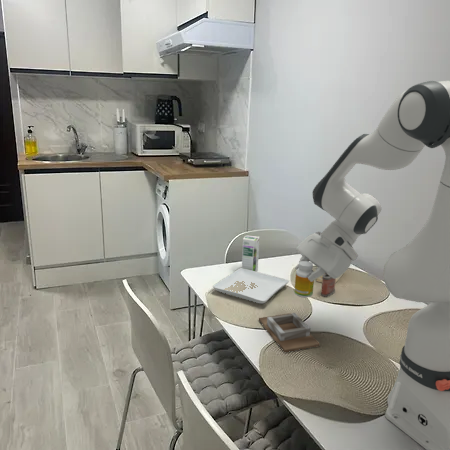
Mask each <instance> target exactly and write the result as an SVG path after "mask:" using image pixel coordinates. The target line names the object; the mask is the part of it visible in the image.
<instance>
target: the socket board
mask: <svg viewBox="0 0 450 450" xmlns="http://www.w3.org/2000/svg"><path fill="white" fill-rule="evenodd" d="M259 321H260V322H261V323H262V324H263V326H264V327H265V328H264V327H263V326H262V327H263V328H264V329H265V331H266V330H267V331H266V332H267V333H268V335H269V336H270V337H271V338H272V339H273V340H274V342H275V341H276V342H277V343H278V344H279V345H280V347H281V348H282V349H283V350H282V349H281V348H280V347H279V348H280V349H281V350H282V352H283V351H284V352H288V353H290V352H289V351H293V352H296V351H295V350H298V351H300V350H299V349H303V350H307V349H306V348H309V349H311V348H310V347H314V348H317V347H316V346H319V347H320V342H319V341H318V340H317V339H316V338H315V337H314V336H313V335H312V334H311V328H310V326H308V325H307V324H306V322H304V320H302V318H300V317H299V315H298V314H297V313H296V312H293V313H292V312H289V313H284V314H276V315H269V316H263V317H259V318H258V322H259ZM260 322H259V323H260ZM261 323H260V324H261ZM262 324H261V325H262ZM276 342H275V343H276ZM277 343H276V344H277ZM278 344H277V345H278ZM279 345H278V346H279ZM284 352H283V353H284Z"/></svg>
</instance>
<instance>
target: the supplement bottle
mask: <svg viewBox="0 0 450 450" xmlns="http://www.w3.org/2000/svg"><path fill="white" fill-rule="evenodd" d="M298 264H299V269H297V270H296V269H295V270H296V271H295V279H294V290H293V292H294V295H295V296H297V297H299V298H304V299H305V298H310V297H313V294H314V293H313V292H314V282H315V280H314V281H313V282H311V281H310V280H308V279H307V278H306V276H307V275H308V274H309V273H311V274H312V273H313V272H315V271H314V270H313V269H314V268H313V267H314V264H313V263H311V262H310V261H309V262H308V261H301V262H299V261H298Z"/></svg>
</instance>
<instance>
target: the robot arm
mask: <svg viewBox="0 0 450 450" xmlns="http://www.w3.org/2000/svg"><path fill="white" fill-rule="evenodd" d="M425 146H426V147H428V148H429V149H435V148H438V147H440V146H441V147H442V149H443V151H444V153H445V161H444V165H443V169H442V172H441V177H440V180H439V184H438V189H437V191H436V195H435V198H434V202H433V205H432V208H431V212H430V214H429V216H428V218H427V220H426V222H425V224H424V225H423V227H422V228H421V229H420V231H418V233H416V235H415V236H414V238H413V239H412V240H410V241H409V242H408V243H407V244H406V245H405V246H403V247H402V248H400V249H398V250H395V252H393V253H391V254H390V255H389V256H388V258H387V260H386V262H385V263H384V266H383V272H382V273H383V274H382V277H383V282H384V284H385V286H386V289H387V290H388V292H389V293H390V294H391V295H392V296H393V297H394V298H396V299H399V300H405V301H410V302H415V303H427V305H426V306H424V307H423V308H420V309H419V310H417V311H416V312H414V313H413V314H412V316H411V317H410V319H409V320H408V323H407V324H408V325H407V332H406V338H405V343H404V345H403V346H402V349H401V353H400V356H399V358H400V359H399V371H398V374H397V377H396V379H395V381H394V385H393V388H392V389H391V390H390V393H389V394H388V396H387V401H386V403H387V408H386V411H385V413H384V415H385V418H386V419H387V420H388V421H389V422H391V423H392V424H393V425H395V426H396V427H397V428H398V429H400V430H401V431H402V432H403V433H405V434H406V435H407V436H408V437H410V438H411V439H413V441H415V442H416V443H418V444H419V446H421V447H422V448H424V450H450V80H441V81H435V80H428V81H423V82H420V83H417V84H414V85H412V86H411V87H409V88H407V89H405V90H404V91H402V92H401V93H400V94H399V95H398V96H397V98H396V99H395V101H394V102H393V103H392V104H391V105H390V107H389V108H388V109H387V111H386V112H385V113H384V115H383V117H382V119H381V120H380V122H379V123H378V125H377V127H376V129H374V131H373V132H371V133H363V134H360V135H359V136H358V137H357V138H356V139H354V140H353V141H352V142H351V143H350V144H349V145H348V147H347V148H346V149H345V150H344V151H343V152H342V154H341V155H339V157H338V159H337V160H336V161H335V163H334V164H333V165H332V166H331V168H330V169H329V170H328V171H327V173H326V174H325V175H324V177H322V179H320V180H319V181H318V182H317V184H316V185H315V186H314V188H313V190H312V200H313V204H314V205H316V206H317V207H319V208H320V209H321V210H323V211H325V213H327V214H328V215H330V216H331V217H332V218H334V219H335V220H333V221H332V222H330V223H329V224H328V226H327V227H326V228H325V229H324V230H322V232H321V231H317V232H313V233H311V234H310V235H308V236H306V238H304V239H303V240H302V241H301V242H299V244H298V245H296V246H297V247H296V248H295V249H296V251H297V252H298V254H300V256H301V257H300V258H299V261H298V264H297V265H296V266H295V267H294V268H295V270H297V269H299V262H301V261H308V262H311V263H312V264H313V266H315V267H317V268H316V269H315V271H314V272H313V273H312V274H311V273H309V274H308V275H307V276H306V278H307V279H308V280H310V281H311V282H313V281H314V282H315V280H317V278H318V277H320V276H322V275H323V274H324V273H327V274H328V275H329V276H331V277H332V278H334V279H336V278H339V277H340V276H341V275H342V274H343V273H344V274H345V272H347V270H348V269H349V268H350V267H351V265H352V263H353V262H355V261H356V260H357V259H358V258H359V255H358V254H357V252H356V250H355V249H354V248H353V245H354V244H355V243H356V241H357V239H358V238H359V237H360V236H361V235H365V234H367V233H368V232H369V231H370V229H372V228H373V227H374V225H376V224H377V222H378V217H379V216H380V214H381V212H382V205H381V203H380V202H379V200H378V199H377V198H376V197H375V196H373V195H372V194H370V193H367V192H365V193H364V192H363V193H361V192H360V191H358V190H357V189H355V188H354V187H353V186H351V184H349V183H348V182H347V181H346V179H345V178H346V176H347V175H348V174H349V173H350V171H352V169H354V168H353V167H355V166H356V164H361V165H365V166H370V167H373V168H376V169H379V170H384V171H396V170H401V169H404V168H406V167H408V166H410V165H411V164H412V163H413V162H414V161H415V160H416V158H417V157H418V156H419V155H420V154H421V152H422V151H423V149H424V147H425ZM344 274H343V275H344ZM343 275H342V276H343ZM342 276H341V277H342ZM341 277H340V278H341Z"/></svg>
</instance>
